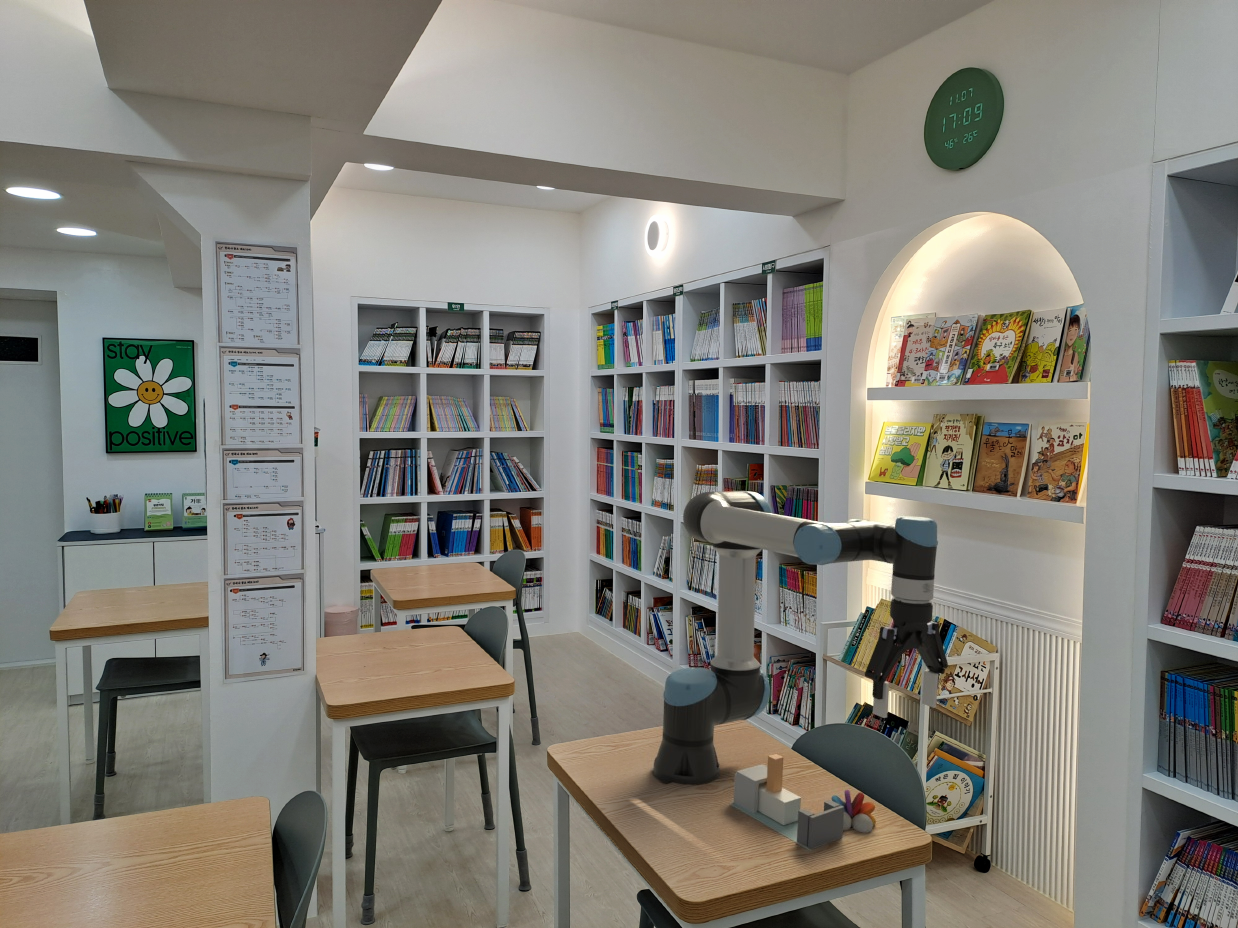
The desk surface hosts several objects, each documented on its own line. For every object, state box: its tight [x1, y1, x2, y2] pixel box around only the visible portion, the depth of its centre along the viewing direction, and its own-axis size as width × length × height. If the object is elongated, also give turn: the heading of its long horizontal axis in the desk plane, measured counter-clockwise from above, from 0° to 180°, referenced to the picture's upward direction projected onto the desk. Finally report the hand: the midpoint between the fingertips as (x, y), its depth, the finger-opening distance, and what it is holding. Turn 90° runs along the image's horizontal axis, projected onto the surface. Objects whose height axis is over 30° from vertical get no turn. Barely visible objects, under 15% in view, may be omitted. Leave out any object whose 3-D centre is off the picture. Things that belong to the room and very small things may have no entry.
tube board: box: [728, 763, 845, 851], centre depth 167 cm, size 22×10×8 cm, turn 35°
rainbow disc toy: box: [830, 789, 877, 833], centre depth 167 cm, size 8×10×7 cm
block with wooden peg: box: [757, 753, 802, 825], centre depth 170 cm, size 12×5×12 cm, turn 35°
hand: (904, 710), depth 157 cm, fingers open, 13 cm apart
